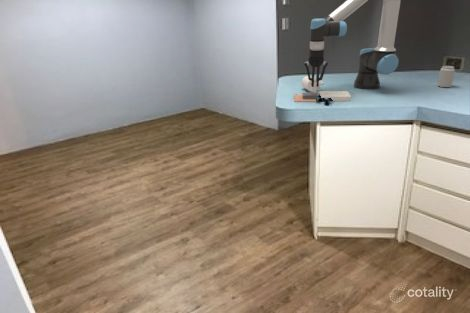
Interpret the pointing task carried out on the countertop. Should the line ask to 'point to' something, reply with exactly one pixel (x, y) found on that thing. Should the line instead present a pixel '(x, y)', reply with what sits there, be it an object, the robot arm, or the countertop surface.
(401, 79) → the countertop surface
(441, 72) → the can
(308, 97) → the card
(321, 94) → the deck
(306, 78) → the mug
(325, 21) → the robot arm
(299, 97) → the mat
